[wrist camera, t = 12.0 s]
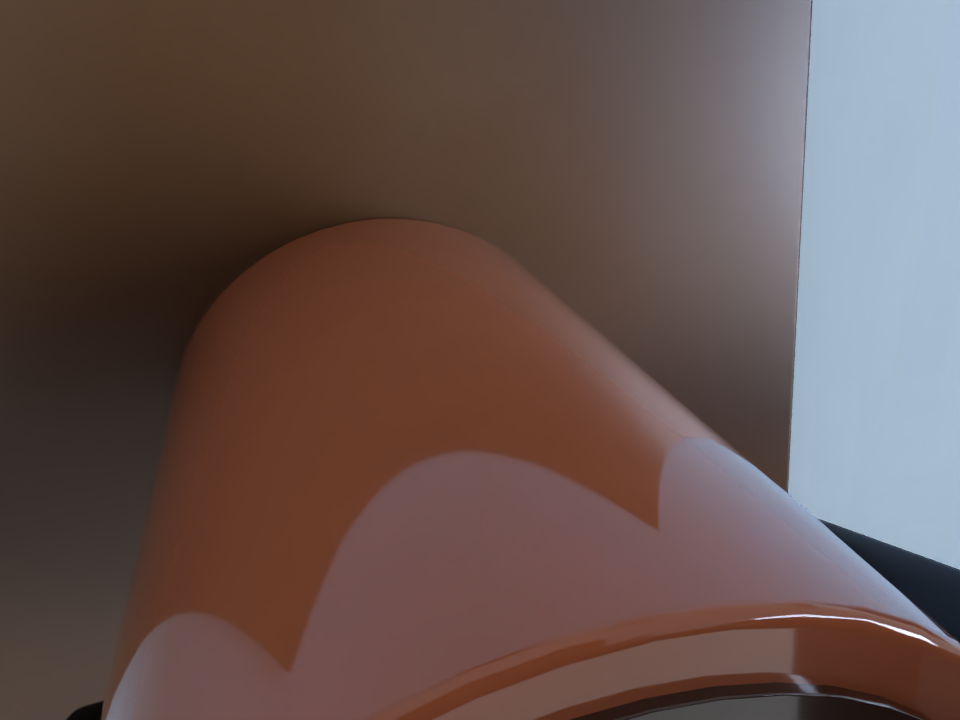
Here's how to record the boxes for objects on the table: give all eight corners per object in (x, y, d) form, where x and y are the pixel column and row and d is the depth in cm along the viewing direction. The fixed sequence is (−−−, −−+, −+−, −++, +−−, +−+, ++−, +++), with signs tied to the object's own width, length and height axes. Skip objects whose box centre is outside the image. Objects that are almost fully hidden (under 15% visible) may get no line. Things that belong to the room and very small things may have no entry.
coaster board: (764, 616, 16) (782, 635, 16) (64, 841, 14) (55, 873, 13) (794, -171, 10) (823, -182, 10) (-427, -43, 8) (-476, -48, 7)
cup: (588, 526, 13) (982, 1105, 6) (236, 627, 12) (210, 1479, 5) (559, 180, 11) (1168, 471, 4) (110, 265, 10) (-299, 940, 2)
